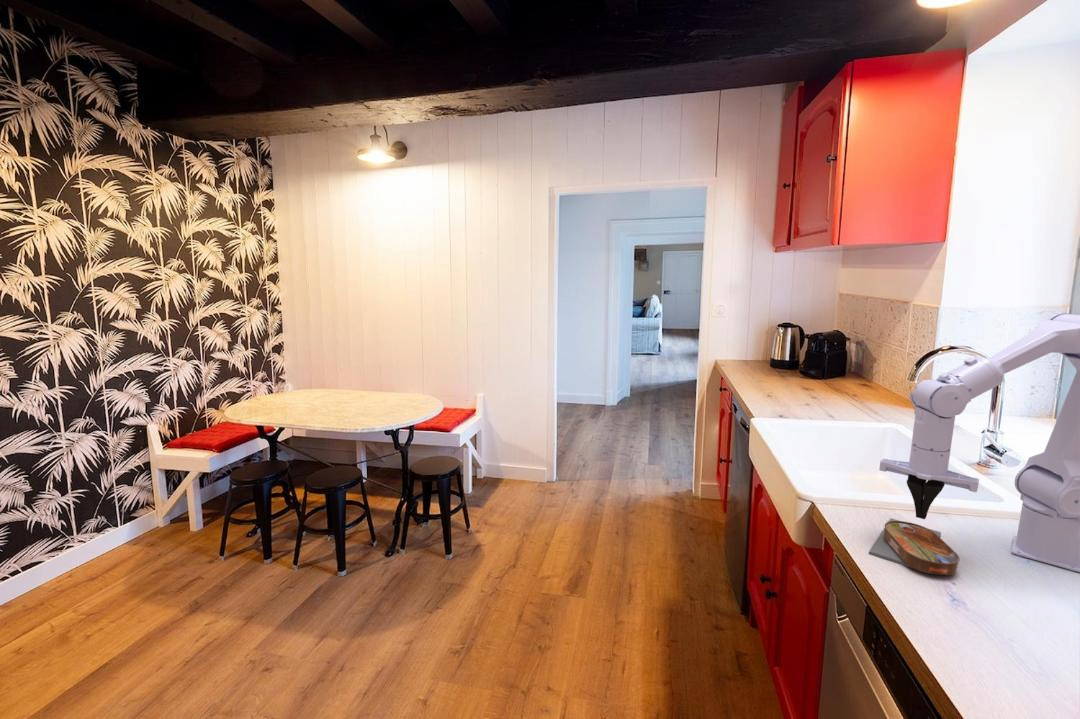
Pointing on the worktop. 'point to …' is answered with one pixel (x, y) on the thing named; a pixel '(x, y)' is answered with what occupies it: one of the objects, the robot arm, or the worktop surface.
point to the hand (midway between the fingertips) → (921, 516)
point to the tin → (921, 548)
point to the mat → (889, 548)
